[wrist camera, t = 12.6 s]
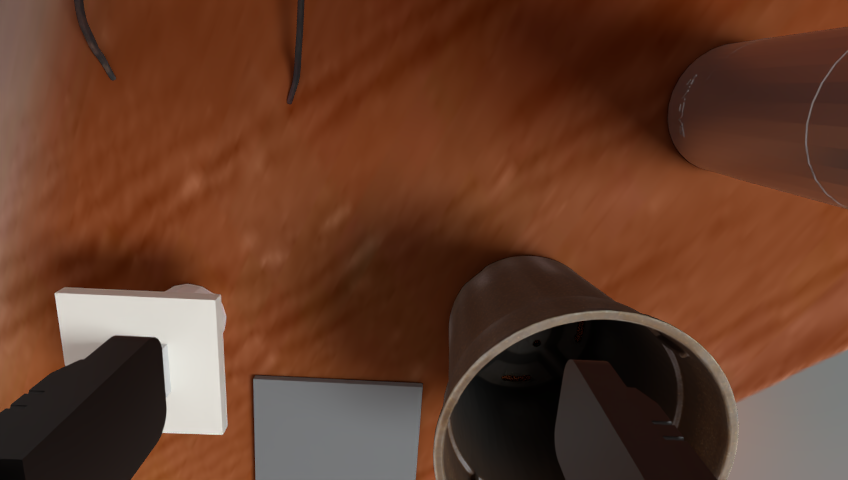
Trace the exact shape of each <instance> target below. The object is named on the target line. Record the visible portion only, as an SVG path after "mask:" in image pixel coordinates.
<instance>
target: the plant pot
mask: <svg viewBox="0 0 848 480" xmlns="http://www.w3.org/2000/svg"><path fill="white" fill-rule="evenodd" d="M579 321H584V330H583V335H582V338H581V341H580V342H578V343H577V342H576V341H575V336H576V335H577V327H578V323H579ZM535 340H540V341H541V344H540V345H539V346H537V347H535V346H533V342H534V341H535ZM570 359H571V360H591V361H607V362H609V363H610V364H611V366H612V367H613V369H614V370H615V371H616V373H617V374H618V375H619V377H620V378H621V380H622V381H623V382H624V384H625V385H626V387H631V388H636V389H638V390H639V391H641V392H642V393H643V394H645V395H646V396H648V397H649V398H651V399H652V400H653V401H655V402H656V403H658V405H659V406H660V407H661V408H662V410H663V411H664V412H665V414H666V415H667V416H668V417H669V419H670V420H671V421H672V425H675V426H676V428H677V429H678V430H679V431H680V433H681V434H682V435H683V437H684V441H687V442H688V443H689V444H690V445H691V447H692V448H693V449H694V451H695V452H696V453H697V454H698V456H699V457H700V458H701V459H702V461H703V462H704V463H705V465H706V466H707V467H708V468H709V470H710V471H711V472H712V474H713V475H714V476H715V477H716V479H717V480H727V478H728V476H729V473H730V471H731V468H732V465H733V462H734V458H735V454H736V449H737V443H738V431H739V423H738V413H737V407H736V403H735V399H734V395H733V392H732V389H731V387H730V384H729V382H728V380H727V378H726V376H725V374H724V373H723V371H722V369H721V368H720V366H719V365H718V363H717V362H716V361H715V359H714V358H713V357H712V356H711V355H710V354H709V353H708V352H707V351H706V350H705V349H704V348H703V347H702V346H701V345H700V344H699V343H698V342H697V341H695V340H694V339H693V338H691V337H690V336H688V335H687V334H685V333H684V332H682V331H681V330H679V329H677V328H676V327H674V326H672V325H670V324H669V323H666V322H664V321H662V320H659V319H657V318H654V317H652V316H649V315H646V314H642V313H639V312H638V311H636V310H634V309H632V308H630V307H628V306H625V305H623V304H620V303H618V302H615V301H614V300H613V299H611V298H610V297H608V296H607V295H606V294H604V293H603V292H601V291H600V290H599V289H597V288H596V287H594V286H593V285H592V284H590V283H589V282H588V281H586V280H585V279H583V278H582V277H581V276H579V275H578V274H577V273H575V272H574V271H573V270H572V269H570V268H569V267H567V266H565V265H564V264H562V263H560V262H557V261H555V260H552V259H548V258H544V257H538V256H516V257H510V258H506V259H502V260H499V261H497V262H494V263H492V264H490V265H488V266H486V267H485V268H484V269H483V270H482V271H481V272H480V273H479V274H477V275H476V276H475V277H473V278H472V279H471V280H470V281H469V282H467V283H466V284H465V285H464V286H463V288H462V289H461V291H460V292H459V294H458V296H457V297H456V299H455V302H454V304H453V307H452V311H451V315H450V320H449V381H448V384H447V388H446V391H445V395H444V403H443V407H442V410H441V413H440V415H439V419H438V423H437V426H436V431H435V437H434V451H433V460H434V472H435V477H436V480H565V477H564V475H563V472H562V470H561V467H560V464H559V462H558V459H557V455H556V449H555V424H556V418H557V412H558V405H559V399H560V393H561V387H562V380H563V374H564V369H565V365H566V363H567V362H568V360H570ZM506 375H510V376H515V377H517V376H523V375H530V376H531V380H529V381H520V382H518V381H507V380H503V379H502V376H506Z"/></svg>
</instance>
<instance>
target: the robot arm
mask: <svg viewBox="0 0 848 480" xmlns="http://www.w3.org/2000/svg"><path fill="white" fill-rule="evenodd" d="M668 126H669V133H670V135H671V138H672V141H673V144H674V145H675V147H676V148H677V150H678V151H679V153H680V154H681V155H682V156H683V157H684V158H685V159H686V160H687V161H688V162H690V163H692V164H693V165H695V166H697V167H699V168H702V169H705V170H709V171H712V172H716V173H719V174H723V175H726V176H730V177H733V178H736V179H739V180H743V181H747V182H750V183H754V184H758V185H761V186H765V187H769V188H772V189H776V190H780V191H783V192H787V193H791V194H794V195H798V196H801V197H805V198H809V199H812V200H816V201H820V202H823V203H827V204H831V205H834V206H838V207H842V208H845V209H848V27H843V28H836V29H829V30H822V31H815V32H808V33H801V34H794V35H787V36H780V37H773V38H765V39H758V40H752V41H745V42H739V43H732V44H726V45H723V46H720V47H717V48H714V49H712V50H710V51H708V52H707V53H705V54H703V55H702V56H700V57H699V58H698V59H697V60H695V61H694V62H693V63H692V64H691V65H690V66H689V67H688V68H687V69H686V71H685V72H684V73H683V74H682V76H681V77H680V78H679V80H678V82H677V84H676V86H675V88H674V90H673V92H672V96H671V99H670V103H669V108H668ZM166 412H167V406H166V392H165V379H164V366H163V352H162V346H161V343H160V341H159V339H157V338H156V337H141V336H121V335H115V336H112V337H111V338H109V339H108V340H107V341H106V342H104V343H103V344H102V345H101V346H100V347H98V348H97V349H96V350H95V351H94V352H92V353H91V354H90V355H89V356H87V357H86V358H85V359H80V360H78V361H76V362H74V363H72V364H69V365H67V366H65V367H63V368H61V369H59V370H57V371H54V372H52V373H50V374H49V375H48V376H47V377H45V378H44V379H43V380H42V381H40V382H39V383H38V384H36V385H35V386H34V387H33V388H31V389H30V390H29V393H28V394H24V395H22V396H21V397H20V398H19V399H17V400H16V401H15V402H14V403H12V404H11V407H10V409H5V410H3V411H2V412H1V413H0V480H131V478H132V477H133V476H134V474H135V473H136V471H137V470H138V469H139V467H140V466H141V464H142V463H143V462H144V460H145V459H146V458H147V456H148V455H149V453H150V452H151V451H152V449H153V448H154V446H155V445H156V444H157V442H158V441H159V439H160V437H161V434H162V432H163V429H164V425H165V420H166ZM555 449H556V455H557V459H558V462H559V464H560V467H561V470H562V472H563V475H564V477H565V480H717V479H716V477H715V476H714V475H713V474H712V472H711V471H710V470H709V468H708V467H707V466H706V465H705V463H704V462H703V461H702V459H701V458H700V457H699V456H698V454H697V453H696V452H695V451H694V449H693V448H692V447H691V445H690V444H689V443H688V442H687V441H684V437H683V435H682V434H681V433H680V431H679V430H678V429H677V428H676V426H675V425H672V421H671V420H670V419H669V417H668V416H667V415H666V414H665V412H664V411H663V410H662V408H661V407H660V406H659V405H658V403H656V402H655V401H653V400H652V399H651V398H649V397H648V396H646V395H645V394H643V393H642V392H641V391H639V390H638V389H636V388H631V387H626V385H625V384H624V382H623V381H622V380H621V378H620V377H619V375H618V374H617V373H616V371H615V370H614V369H613V367H612V366H611V364H610V363H609V362H607V361H591V360H571V359H570V360H568V362H567V363H566V365H565V369H564V374H563V380H562V387H561V393H560V399H559V405H558V412H557V418H556V424H555Z"/></svg>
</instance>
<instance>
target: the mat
mask: <svg viewBox="0 0 848 480" xmlns="http://www.w3.org/2000/svg"><path fill="white" fill-rule="evenodd" d="M253 389H254V433H255V477H256V480H416V467H417V454H418V441H419V428H420V415H421V402H422V389H423V384H422V383H405V382H385V381H364V380H344V379H323V378H303V377H282V376H262V375H255V377H254V379H253Z"/></svg>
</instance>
